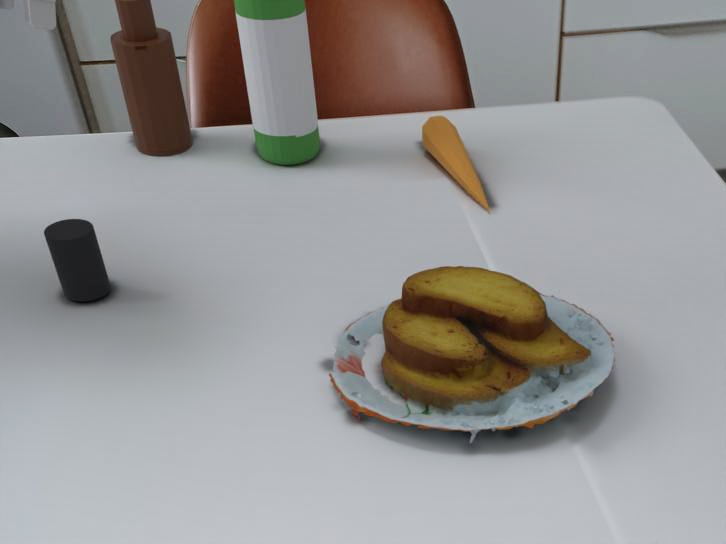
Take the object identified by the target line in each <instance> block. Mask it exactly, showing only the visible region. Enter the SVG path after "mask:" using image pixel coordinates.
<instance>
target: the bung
mask: <svg viewBox="0 0 726 544" xmlns="http://www.w3.org/2000/svg"><path fill="white" fill-rule="evenodd" d="M43 236H44V238H45V241H46V244H47V247H48V250H49V253H50V256H51V259H52V262H53V265H54V268H55V271H56V274H57V277H58V280H59V283H60V287H61V289H62V292H63V295H64V296H65V298H66V299H68V300H71V301H74V302H91V301H95V300H98V299H100V298H103V297H104V296H105V297H106V295H107V294H109V293H110V291H111V288H112V285H111V281H110V279H109V275H108V272H107V269H106V265H105V261H104V258H103V255H102V251H101V248H100V245H99V241H98V237H97V234H96V232H95V227H94V225H93V223H92V222H90V221H89V220H85V219H81V218H68V219H61V220H58V221H55V222H52V223H50V224H48V225H47V226H46V227H45V229H43Z"/></svg>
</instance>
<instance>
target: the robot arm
mask: <svg viewBox="0 0 726 544" xmlns="http://www.w3.org/2000/svg"><path fill="white" fill-rule="evenodd" d="M14 1H15V0H0V9H1V10H9V11H11V10H13V8H14V6H15V2H14ZM22 1H23V10H24V20H25V21H26V22H27V24H28V25H30V26H31V27H34V28H35V29H41V30H49V31H53V30H54V29H56V27H57V12H56V11H57V9H56V2H57V0H22Z"/></svg>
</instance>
